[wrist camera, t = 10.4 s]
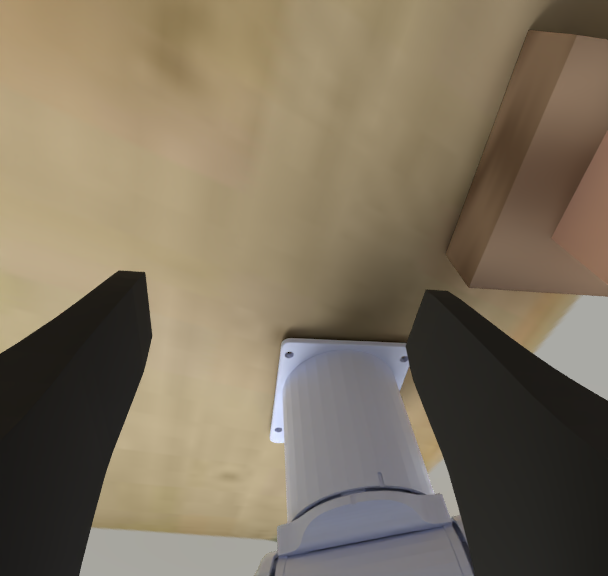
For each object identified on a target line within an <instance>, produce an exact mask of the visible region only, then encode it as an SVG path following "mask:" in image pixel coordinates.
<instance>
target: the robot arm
mask: <svg viewBox="0 0 608 576" xmlns="http://www.w3.org/2000/svg"><path fill="white" fill-rule="evenodd" d="M151 339H152V329H151V320H150V311H149V302H148V293H147V284H146V275H145V272H133V271H118V272H116V273H115V274H113V275H112V276H111V277H109V278H108V279H107V280H105V281H104V282H103V283H101V284H100V285H99V286H98V287H96V288H95V289H94V290H92V291H91V292H90V293H88V294H87V295H86V296H85V297H83V298H82V299H80V300H79V301H78V302H76V303H75V304H74V305H72V306H71V307H70V308H68V309H67V310H66V311H64V312H63V313H61V314H60V315H59V316H57V317H56V318H54V319H53V320H51V321H50V322H48V323H47V324H45V325H44V326H42V327H41V328H39V329H38V330H36V331H35V332H33V333H32V334H30V335H29V336H27V337H26V338H24V339H23V340H21V341H20V342H18V343H17V344H15V345H14V346H12V347H10V348H9V349H7V350H6V351H4V352H2V353H0V576H79V573H80V569H81V565H82V561H83V557H84V553H85V549H86V545H87V541H88V537H89V533H90V530H91V526H92V522H93V518H94V514H95V510H96V507H97V503H98V499H99V496H100V492H101V488H102V485H103V481H104V477H105V474H106V471H107V468H108V465H109V462H110V459H111V456H112V453H113V450H114V448H115V445H116V442H117V440H118V437H119V435H120V432H121V430H122V427H123V424H124V422H125V419H126V417H127V414H128V412H129V409H130V406H131V404H132V401H133V399H134V396H135V393H136V391H137V388H138V386H139V383H140V380H141V378H142V375H143V372H144V369H145V365H146V361H147V357H148V352H149V348H150V344H151ZM286 352H292V353H286ZM403 356H405V357H404V358H401V357H403ZM409 365H410V369H411V373H412V377H413V380H414V383H415V386H416V389H417V391H418V394H419V396H420V399H421V401H422V404H423V407H424V409H425V412H426V414H427V417H428V419H429V422H430V424H431V427H432V429H433V432H434V434H435V437H436V439H437V442H438V444H439V447H440V449H441V452H442V455H443V457H444V460H445V463H446V466H447V469H448V472H449V475H450V479H451V483H452V486H453V490H454V493H455V497H456V500H457V504H458V507H459V511H460V515H458V516H453V517H452V518H450V516H449V513H448V510H447V507H446V504H445V501H444V499H443V496H442V494H440V493H438V494H435V493H434V491H433V487H432V485H431V482H430V479H429V476H428V473H427V470H426V467H425V464H424V461H423V458H422V455H421V453H420V450H419V447H418V444H417V441H416V438H415V435H414V432H413V429H412V426H411V423H410V420H409V418H408V415H407V412H406V409H405V406H404V403H403V400H402V397H401V394H400V389H401V386H402V384H403V381H404V379H405V376H406V373H407V371H408V368H409ZM270 440H271V441H272V442H274V443H284V446H285V470H286V495H287V519H288V523H287V524H283V525H279V526H278V527H277V546H278V551H274V552H270V553H268V554H266V555H265V556H264V557H263V559H262V561H261V563H260V565H259V567H258V570H257V571H256V573H255V575H254V576H608V401H607V400H606V399H604V398H602V397H600V396H599V395H597V394H595V393H593V392H592V391H590V390H588V389H587V388H585V387H583V386H582V385H580V384H578V383H577V382H575V381H573V380H572V379H570V378H568V377H567V376H565V375H564V374H562V373H561V372H559V371H558V370H556V369H554V368H553V367H551V366H550V365H548V364H547V363H546V362H544V361H543V360H541V359H540V358H538V357H537V356H535V355H534V354H533V353H531V352H530V351H528V350H527V349H526V348H524V347H523V346H521V345H520V344H519V343H517V342H516V341H514V340H513V339H512V338H510V337H509V336H508V335H506V334H505V333H504V332H502V331H501V330H500V329H498V328H497V327H496V326H495V325H493V324H492V323H491V322H489V321H488V320H487V319H485V318H484V317H483V316H482V315H480V314H479V313H478V312H476V311H475V310H474V309H472V308H471V307H470V306H468V305H467V304H466V303H464V302H463V301H462V300H460V299H459V298H457V297H456V296H454V295H453V294H451V293H450V292H448V291H439V290H426V291H425V293H424V296H423V299H422V302H421V305H420V307H419V310H418V313H417V316H416V319H415V321H414V324H413V327H412V330H411V332H410V335H409V338H408V341H407V343H393V342H370V341H347V340H324V339H302V338H287V339H285V340H283V341H282V344H281V350H280V358H279V366H278V374H277V382H276V390H275V398H274V406H273V414H272V421H271V429H270Z"/></svg>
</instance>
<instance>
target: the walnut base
mask: <svg viewBox="0 0 608 576" xmlns="http://www.w3.org/2000/svg"><path fill="white" fill-rule="evenodd" d="M607 130H608V40H607V39H601V38H594V37H588V36H582V35H574V34H564V33H554V32H544V31H534V30H528V33H527V36H526V39H525V41H524V44H523V47H522V49H521V52H520V55H519V57H518V60H517V63H516V66H515V68H514V71H513V74H512V76H511V79H510V82H509V84H508V87H507V90H506V93H505V95H504V98H503V101H502V103H501V106H500V109H499V112H498V114H497V117H496V120H495V122H494V125H493V128H492V130H491V133H490V136H489V139H488V141H487V144H486V147H485V149H484V152H483V155H482V157H481V160H480V163H479V166H478V168H477V171H476V174H475V176H474V179H473V182H472V185H471V187H470V190H469V193H468V195H467V198H466V201H465V203H464V206H463V209H462V212H461V214H460V217H459V220H458V222H457V225H456V228H455V230H454V233H453V236H452V239H451V241H450V244H449V247H448V249H447V252H446V256H447V258H448V259H449V261H450V262H451V263H452V265H453V266H454V268H455V269H456V270H457V272H458V273H459V275H460V276H461V277H462V279H463V280H464V282H465V283H466V284H467V286H468V287H469V288H482V289H498V290H514V291H529V292H545V293H561V294H576V295H592V296H607V297H608V285H607V284H606V283H605V282H604V281H602V280H601V279H600V278H599V277H597V276H596V275H595V274H594V273H593V272H591V271H590V270H589V269H588V268H587V267H585V266H584V265H583V264H582V263H580V262H579V261H578V260H577V259H576V258H574V257H573V256H572V255H571V254H570V253H568V252H567V251H566V250H565V249H563V248H562V247H561V246H560V245H559V244H557V243H556V242H555V241H554V240H553V239H551V237H552V235H553V234H554V232H555V230H556V228H557V226H558V224H559V222H560V220H561V218H562V216H563V214H564V212H565V211H566V209H567V207H568V205H569V203H570V201H571V199H572V197H573V195H574V193H575V191H576V190H577V188H578V186H579V184H580V182H581V180H582V178H583V176H584V174H585V172H586V170H587V168H588V167H589V165H590V163H591V161H592V159H593V157H594V155H595V153H596V151H597V149H598V147H599V145H600V144H601V142H602V140H603V138H604V136H605V134H606V132H607Z"/></svg>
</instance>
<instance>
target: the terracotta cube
mask: <svg viewBox="0 0 608 576" xmlns="http://www.w3.org/2000/svg"><path fill="white" fill-rule="evenodd" d="M551 239H553V240H554V241H555V242H556V243H557V244H559V245H560V246H561V247H562V248H563V249H565V250H566V251H567V252H568V253H570V254H571V255H572V256H573V257H574V258H576V259H577V260H578V261H579V262H580V263H582V264H583V265H584V266H585V267H587V268H588V269H589V270H590V271H591V272H593V273H594V274H595V275H596V276H597V277H599V278H600V279H601V280H602V281H604V282H605V283H606V284H607V285H608V130H607V132H606V134H605V136H604V138H603V140H602V142H601V144H600V145H599V147H598V149H597V151H596V153H595V155H594V157H593V159H592V161H591V163H590V165H589V167H588V168H587V170H586V172H585V174H584V176H583V178H582V180H581V182H580V184H579V186H578V188H577V190H576V191H575V193H574V195H573V197H572V199H571V201H570V203H569V205H568V207H567V209H566V211H565V212H564V214H563V216H562V218H561V220H560V222H559V224H558V226H557V228H556V230H555V232H554V234H553V235H552V237H551Z"/></svg>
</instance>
